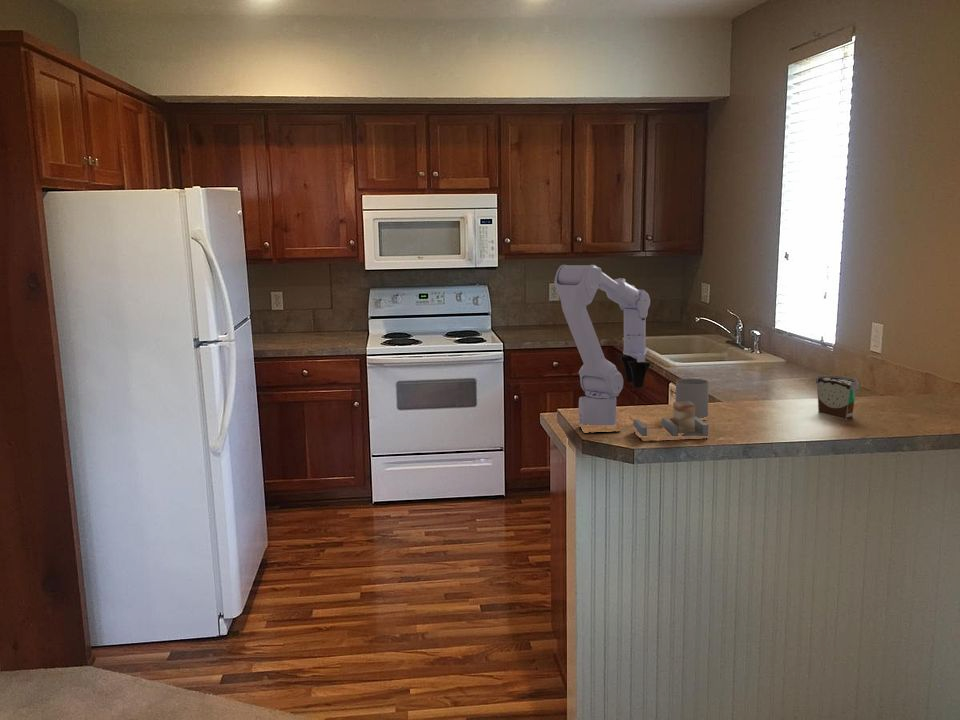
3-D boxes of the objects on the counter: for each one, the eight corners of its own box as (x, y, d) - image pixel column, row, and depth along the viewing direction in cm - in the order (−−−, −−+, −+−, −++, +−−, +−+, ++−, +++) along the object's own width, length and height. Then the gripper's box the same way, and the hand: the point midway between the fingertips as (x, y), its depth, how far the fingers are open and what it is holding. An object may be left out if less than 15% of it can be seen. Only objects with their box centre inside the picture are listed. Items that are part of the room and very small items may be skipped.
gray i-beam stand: (642, 442, 186) (642, 427, 186) (633, 432, 195) (633, 419, 195) (707, 439, 187) (708, 424, 187) (695, 429, 196) (695, 416, 195)
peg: (678, 433, 189) (678, 405, 188) (673, 429, 193) (673, 402, 192) (694, 432, 189) (695, 404, 188) (689, 428, 193) (689, 401, 192)
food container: (868, 418, 202) (870, 380, 200) (850, 421, 199) (852, 383, 198) (831, 409, 213) (832, 373, 211) (814, 411, 211) (815, 375, 209)
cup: (681, 413, 214) (681, 377, 213) (711, 416, 210) (711, 379, 208) (671, 420, 207) (672, 383, 205) (702, 423, 203) (703, 385, 201)
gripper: (656, 337, 199) (656, 389, 201) (642, 330, 213) (642, 378, 216) (629, 338, 199) (629, 390, 201) (617, 331, 213) (617, 380, 215)
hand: (634, 384), depth 208 cm, fingers open, 7 cm apart
